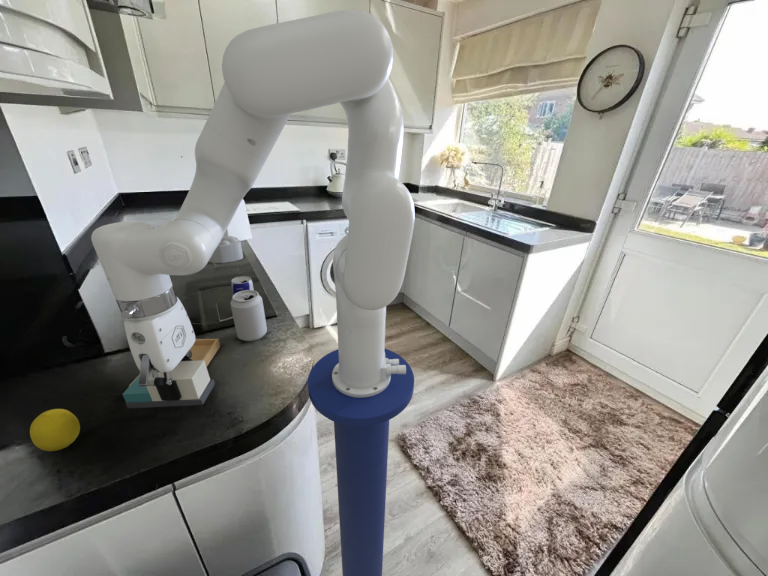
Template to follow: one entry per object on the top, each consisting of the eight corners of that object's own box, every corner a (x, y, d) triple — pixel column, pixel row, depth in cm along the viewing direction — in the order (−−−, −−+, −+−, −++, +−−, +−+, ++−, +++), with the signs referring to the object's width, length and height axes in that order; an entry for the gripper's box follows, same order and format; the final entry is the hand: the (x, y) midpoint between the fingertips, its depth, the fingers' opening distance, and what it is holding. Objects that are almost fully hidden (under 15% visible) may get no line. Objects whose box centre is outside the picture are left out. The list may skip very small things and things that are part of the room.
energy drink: (246, 324, 90) (239, 285, 85) (234, 318, 92) (226, 280, 87) (261, 315, 94) (255, 278, 89) (249, 310, 97) (243, 274, 91)
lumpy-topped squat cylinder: (244, 259, 134) (241, 239, 131) (210, 265, 128) (205, 244, 124) (238, 252, 142) (235, 232, 138) (206, 257, 135) (201, 237, 131)
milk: (252, 238, 160) (243, 183, 149) (229, 243, 152) (218, 186, 141) (240, 233, 167) (231, 181, 156) (218, 237, 159) (207, 183, 148)
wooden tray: (220, 346, 81) (218, 338, 80) (189, 393, 66) (186, 384, 65) (174, 346, 80) (171, 339, 79) (132, 394, 65) (128, 385, 64)
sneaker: (215, 383, 63) (207, 359, 60) (202, 405, 58) (194, 379, 55) (145, 386, 62) (135, 362, 60) (127, 408, 57) (115, 382, 55)
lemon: (56, 466, 51) (34, 431, 48) (35, 454, 53) (12, 420, 50) (94, 438, 56) (76, 404, 53) (74, 429, 58) (55, 395, 54)
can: (255, 345, 81) (247, 304, 76) (230, 339, 83) (221, 298, 78) (273, 330, 88) (267, 290, 82) (250, 324, 90) (243, 286, 85)
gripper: (139, 330, 44) (177, 424, 52) (197, 278, 59) (219, 357, 67) (82, 331, 44) (129, 426, 52) (155, 279, 59) (182, 358, 67)
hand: (179, 386), depth 59 cm, fingers closed on sneaker, 5 cm apart
